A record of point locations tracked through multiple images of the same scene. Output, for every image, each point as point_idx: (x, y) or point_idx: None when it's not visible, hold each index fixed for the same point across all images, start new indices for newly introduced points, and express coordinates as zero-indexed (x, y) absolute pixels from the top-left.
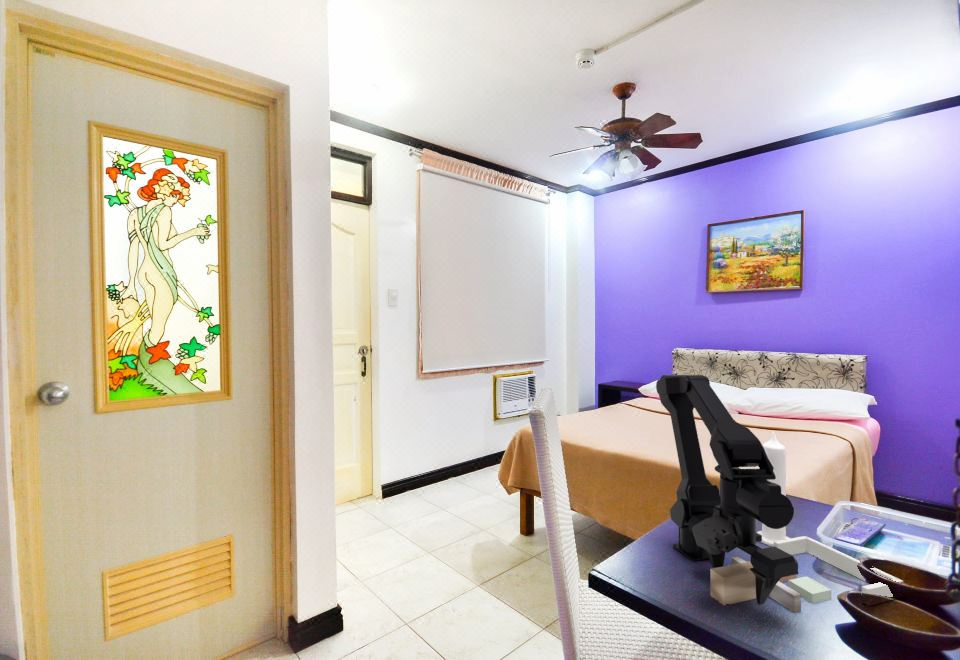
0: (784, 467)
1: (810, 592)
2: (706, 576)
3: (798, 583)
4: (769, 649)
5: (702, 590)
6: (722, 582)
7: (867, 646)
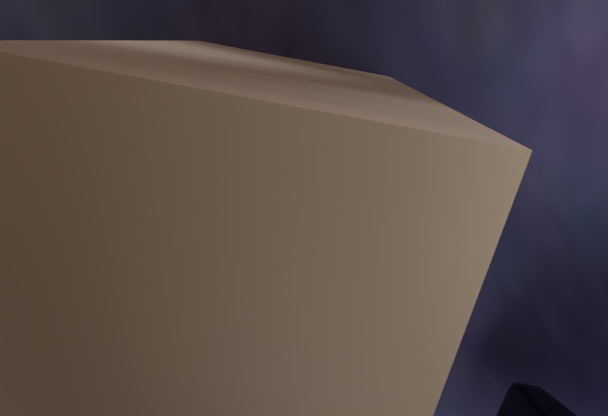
0: None
1: None
2: (603, 341)
3: None
4: None
5: (500, 84)
6: (87, 45)
7: None
